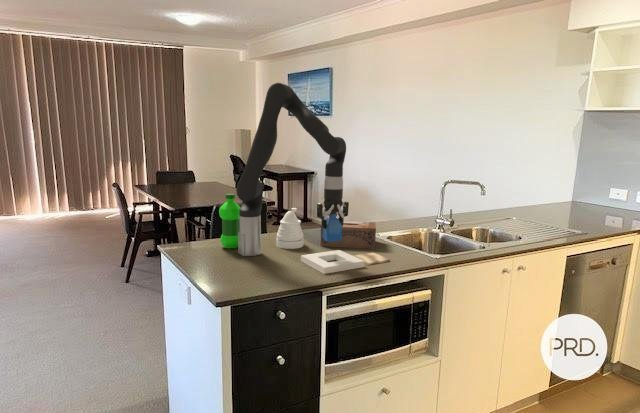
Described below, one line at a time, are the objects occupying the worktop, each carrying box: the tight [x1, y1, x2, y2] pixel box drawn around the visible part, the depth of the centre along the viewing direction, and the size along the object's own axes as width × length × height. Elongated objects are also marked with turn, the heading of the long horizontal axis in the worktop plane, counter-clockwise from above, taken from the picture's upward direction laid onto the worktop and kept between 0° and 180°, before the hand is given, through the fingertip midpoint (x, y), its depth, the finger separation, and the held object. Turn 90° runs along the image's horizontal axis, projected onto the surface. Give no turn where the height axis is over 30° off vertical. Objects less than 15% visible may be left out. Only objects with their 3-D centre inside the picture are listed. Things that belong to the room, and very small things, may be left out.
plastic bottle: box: [218, 193, 241, 249], centre depth 205 cm, size 10×10×25 cm
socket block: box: [300, 249, 365, 275], centre depth 183 cm, size 19×19×2 cm
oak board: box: [353, 252, 391, 266], centre depth 191 cm, size 12×12×1 cm
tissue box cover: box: [320, 220, 377, 249], centre depth 216 cm, size 26×14×10 cm, turn 82°
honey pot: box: [276, 207, 304, 250], centre depth 211 cm, size 13×13×18 cm
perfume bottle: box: [323, 211, 342, 242], centre depth 181 cm, size 6×6×12 cm
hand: (332, 227), depth 181 cm, fingers closed on perfume bottle, 7 cm apart
